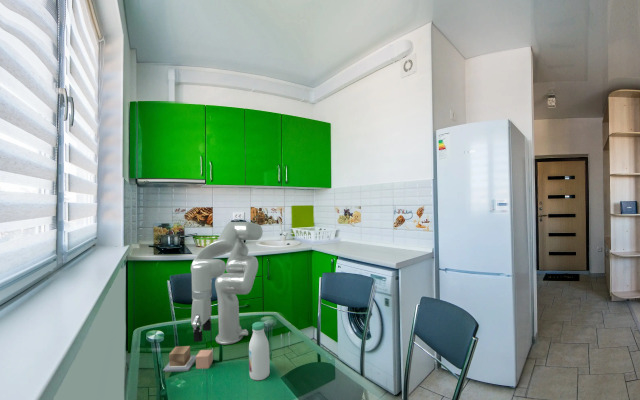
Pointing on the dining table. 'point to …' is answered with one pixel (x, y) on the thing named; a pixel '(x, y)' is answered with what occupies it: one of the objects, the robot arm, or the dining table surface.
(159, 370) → the dining table surface
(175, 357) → the walnut block
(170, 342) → the dining table surface
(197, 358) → the terracotta block
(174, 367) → the plate
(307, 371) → the dining table surface
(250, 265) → the robot arm
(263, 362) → the milk bottle
